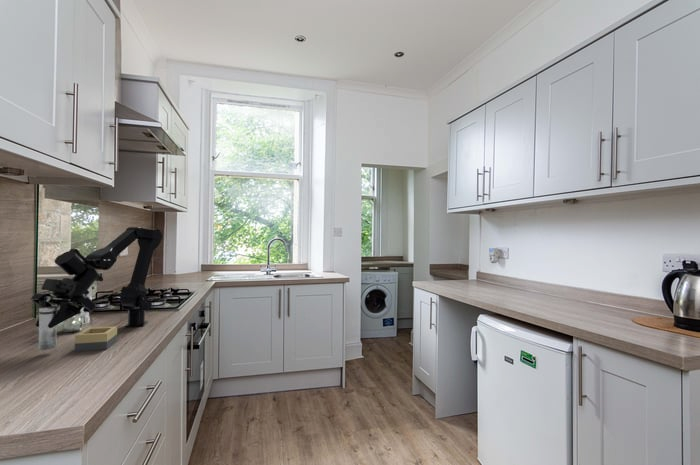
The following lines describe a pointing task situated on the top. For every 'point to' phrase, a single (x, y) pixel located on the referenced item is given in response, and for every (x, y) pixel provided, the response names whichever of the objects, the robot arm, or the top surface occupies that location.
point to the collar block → (95, 339)
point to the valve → (70, 325)
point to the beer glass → (83, 315)
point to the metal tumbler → (47, 328)
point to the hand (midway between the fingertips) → (42, 326)
